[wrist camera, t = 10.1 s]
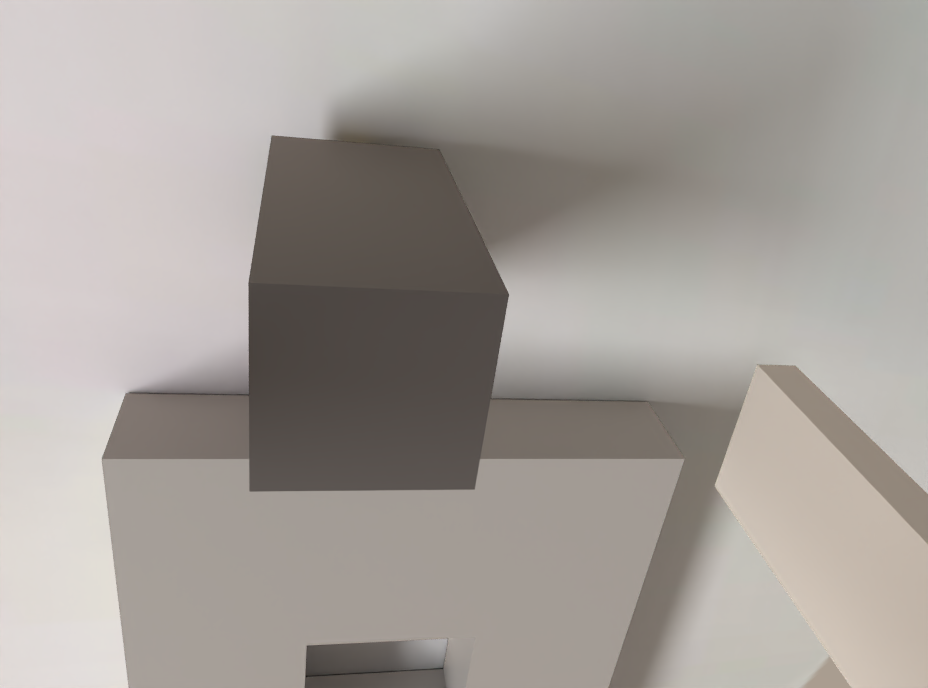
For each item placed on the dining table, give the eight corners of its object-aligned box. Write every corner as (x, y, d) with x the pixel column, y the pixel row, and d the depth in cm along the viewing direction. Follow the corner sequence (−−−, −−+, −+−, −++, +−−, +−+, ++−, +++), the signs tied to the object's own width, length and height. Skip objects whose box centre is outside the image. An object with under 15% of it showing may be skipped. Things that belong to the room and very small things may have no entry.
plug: (273, 124, 19) (249, 283, 12) (433, 138, 20) (508, 294, 12) (271, 272, 21) (249, 491, 14) (417, 279, 22) (474, 489, 14)
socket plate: (125, 393, 22) (101, 459, 20) (647, 401, 26) (684, 459, 23) (164, 802, 32) (151, 882, 29) (539, 770, 35) (557, 839, 33)
